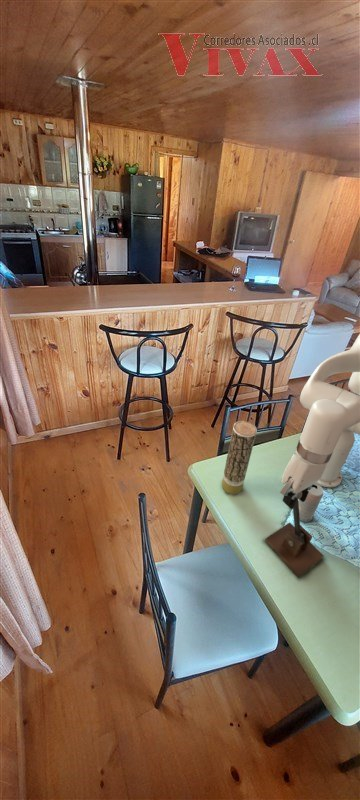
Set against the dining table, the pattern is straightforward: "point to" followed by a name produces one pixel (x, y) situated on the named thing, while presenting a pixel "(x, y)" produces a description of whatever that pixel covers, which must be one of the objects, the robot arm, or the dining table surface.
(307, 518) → the energy drink
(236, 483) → the wooden log
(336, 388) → the robot arm
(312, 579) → the dining table surface
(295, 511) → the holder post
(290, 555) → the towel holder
